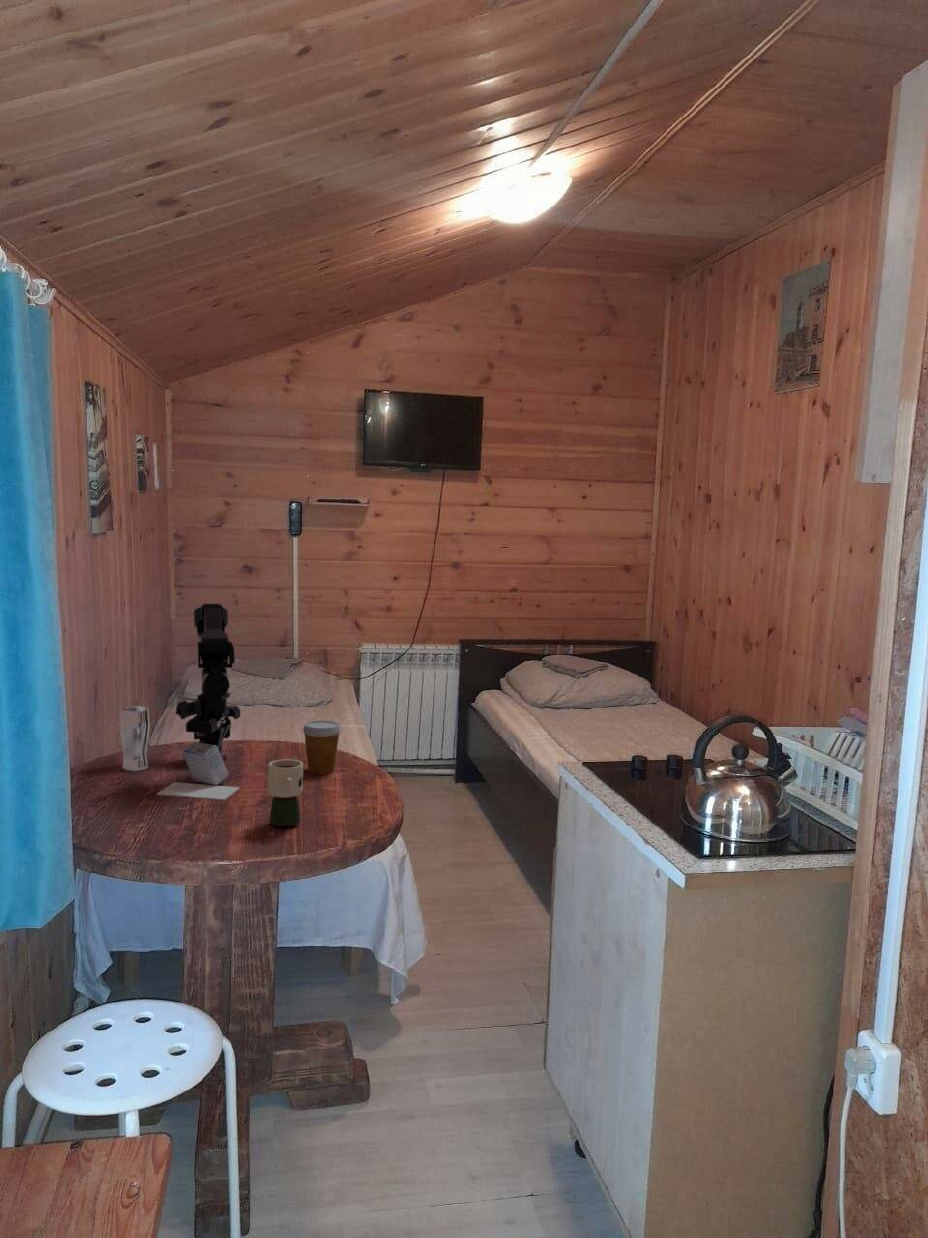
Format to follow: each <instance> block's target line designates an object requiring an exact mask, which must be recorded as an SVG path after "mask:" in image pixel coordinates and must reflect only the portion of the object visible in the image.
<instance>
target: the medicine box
mask: <svg viewBox="0 0 928 1238" xmlns="http://www.w3.org/2000/svg"><path fill="white" fill-rule="evenodd" d="M182 755H183V757H184V760H185V762H186V765H187V767H188V769H189V772H190V775H191V777H192V780H193V781H194V782H198V783H203V784H207V785H215V786H218V785H219V784H220V783H221V782H222V781H224V780H225V779H226V778H227V777H229V771H228V770H227V767H226V765H225V763H224V760H223V759H222V757H221V754H220V752H219V749H218V747H217V746H216V745H210V744H205V743H199V741H194V742H193V743H192V744H190V745H189V746H188V747H186V748H185V749H183V750H182Z"/></svg>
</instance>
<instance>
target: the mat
mask: <svg viewBox="0 0 928 1238" xmlns="http://www.w3.org/2000/svg"><path fill="white" fill-rule="evenodd" d="M239 790H240V787H239V786H238V787H237V786H226V785H213V784H201V783H200V784H199V783H188V782H186V783H185V782H177V781H175V782H173V783H171V784H170V785H168V786H166V787H165V788H163V789H162V790H160V791H158V792H156V795H157V796H163V797H164V796H167V797H177V798H178V797H179V798H191V799H202V800H218V801H226V800H227V799H228V798H231V796H232V795H233V794H235V793H236V792H237V791H239Z"/></svg>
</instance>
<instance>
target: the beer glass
mask: <svg viewBox="0 0 928 1238" xmlns="http://www.w3.org/2000/svg"><path fill="white" fill-rule="evenodd" d="M119 715H120V716H119V733H120V738H121V739H120V740H121V745H122V751H123V757H122V758H123V760H122V765H121V769H122V770H123V771H127V772H137V771H144V770H146V769H148V768H149V764H148V758H147V748H148V742H149V735H150V730H151V727H150V726H151V724H150V723H151V722H150V721H151V720H150V709H149V706H144V705H129V706H124V707H121V708H120V714H119Z"/></svg>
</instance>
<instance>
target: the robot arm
mask: <svg viewBox="0 0 928 1238" xmlns="http://www.w3.org/2000/svg"><path fill="white" fill-rule="evenodd" d="M228 611H229V610H228V609H226V608H224V607H223V605H222V604H220V603H204V604H201V606H200V607H198V608H196V609H194V611H193V628H196V636H197V637H198V640H199V641H197V668H198V669H201V693H200V694H198V695H197V698H196V699H194V700H191V701H189V702H188V701H187V700H184V701H179V702H177V703H176V707H175V710H176V711H175V714H176V715H178V716H179V717H180V720H184V719H186V718H189V717H192V718H190V719H189V720H187V721H186V723H185V732H186V733H193V739H194V740H198V742H199V743H205V744H210V745H216V746H217V747H218V749H219V752H220V754H221V757H222V759H223V761H224V760H226V759H227V758H228V756H227V755H223V741H224V739H229V737H231V727H232V726H231V725H232V720H231V719H230V718H231V717H232V719H233V720H238V719H239V718H241V709H240V708H239V707H238V706H237V705H227V704H228V703H227V701H228V699H227V698H230V697H231V696H230V695H231V693H230V692H228V691H229V689H230V681H229V678H228V669H231V668H233V664H235V662H236V661H235V645H233V642H232V641H230V640H229V634H228V633H227V632H225V631H226V628H227V627H228V623H229V620H228V619H229V617H228V613H229V612H228Z"/></svg>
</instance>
